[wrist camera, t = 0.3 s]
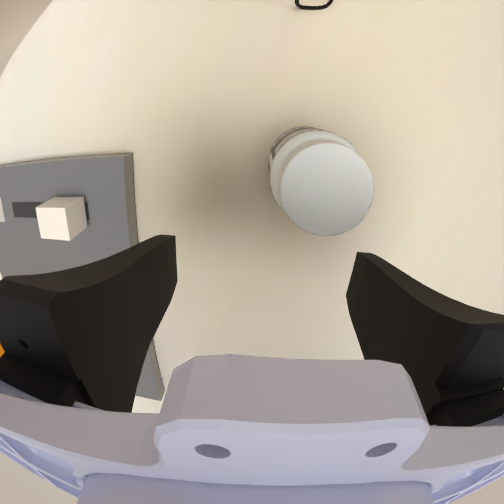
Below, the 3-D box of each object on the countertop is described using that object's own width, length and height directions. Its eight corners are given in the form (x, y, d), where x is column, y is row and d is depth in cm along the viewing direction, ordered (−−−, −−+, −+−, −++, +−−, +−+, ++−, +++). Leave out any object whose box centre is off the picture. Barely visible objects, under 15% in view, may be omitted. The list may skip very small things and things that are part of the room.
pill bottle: (330, 199, 20) (366, 253, 13) (263, 188, 20) (262, 237, 12) (344, 133, 18) (394, 149, 10) (274, 120, 18) (280, 122, 10)
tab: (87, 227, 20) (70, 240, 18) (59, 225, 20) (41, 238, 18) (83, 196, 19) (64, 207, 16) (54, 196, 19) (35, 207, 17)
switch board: (164, 390, 31) (161, 401, 29) (46, 359, 31) (41, 367, 29) (132, 153, 19) (123, 156, 18) (-12, 167, 19) (-22, 171, 18)
